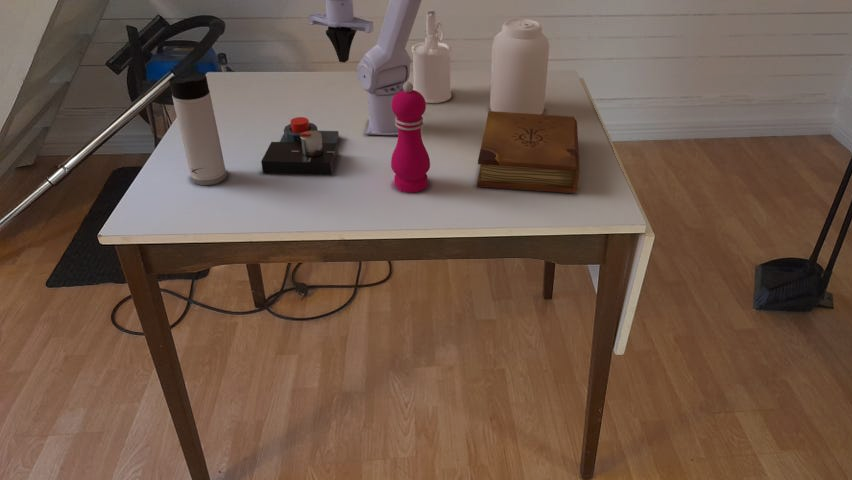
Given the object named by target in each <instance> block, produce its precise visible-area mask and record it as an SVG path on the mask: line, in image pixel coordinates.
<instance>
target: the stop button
mask: <svg viewBox="0 0 852 480" xmlns="http://www.w3.org/2000/svg"><path fill="white" fill-rule="evenodd" d="M309 123H310V121H309V118H307V117H304V116H298V117H293V118H291V119H290V124H291V130H292V132H295V133H303V132H306V131H309V130H310V128H309Z"/></svg>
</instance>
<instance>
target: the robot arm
mask: <svg viewBox="0 0 852 480" xmlns="http://www.w3.org/2000/svg"><path fill="white" fill-rule="evenodd" d="M422 1H423V0H389V2H388V5H387V9H386V13H385V16H384V20H383V21H382V26H381V29H380V33H379V35H378V40H377V42H376V44H375V45H374V46H373V47H371V48H369V50H368V51H366V52H365V53H364V54H363V58H362V59H361V60H360V62H358V64H357V68H356V77H357V80H358V83H359V85H360V87H362V88H363V90H364V91H366V92H367V93H366V94H367V106H368V108H367V109H368V124H367V127H366V130H365V134H366V135H367V136H398V128H397V127H396V125H395V122H396V121H395V117H396V115H395V114H394V113H393V111H392V99H393V97H394V96H395V95H396V94H397V93H398V92H400V91H402V90H403V85H404V84H405V83H406V82H409V78H410V74H411V63H412V57H411V56H410V54H409V52H408V51H407V50H406V47H407V44H408V42H409V38H410V36H411V33H412V29H413V26H414V24H415V21H416V18H417V16H418V12H419V9H420V7H421V3H422ZM324 2H325V4H324V5H325V12H326V13H316V12H315V13H314V12H313V13H310V14H308V16H307V17H308V18H307V19H308V24H309V25H310V26H315V25H317V26H325V27H327V29H326V30H325V35H326V36H327V37H328V39H329V41H330V42H331V44H332V46H333V48H334V51H335V53H336V56H337V60H338V62H339V63H345V64H346V63H347V62H348V61H349V59H350V51H351V47H352V44H353V41H354V38H355V35H356V33H357V31H359V32H364V33H366V34H371V33H372V32H374V21H372V20H371V21H370V20H366V19H363V18H360V17H356V16H355V14H354V2H353V0H324Z"/></svg>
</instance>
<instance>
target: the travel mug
mask: <svg viewBox="0 0 852 480" xmlns="http://www.w3.org/2000/svg"><path fill="white" fill-rule="evenodd" d="M168 83H169V87H170V91H171V97H172V102H173V107H174V110H175V114H176V119H177V123H178V127H179V132H180V136H181V141H182V144H183V150H184V153H185V158H186V162H187V165H188V170H189V175H190V178H191V181H192V182H193V183H194V184H196V185H200V186H212V185H216V184H219V183H221V182H222V181H224V180H225V179H226V177H227V171H226V165H225V161H224V156H223V155H224V154H223V151H222V150H223V149H222V146H221V140H220V136H219V131H218V125H217V120H216V115H215V111H214V106H213V101H212V96H211V92H210V91H211V90H210V87H209V83H208V78H207V75H206V74H202V73H190V74H188V75H180V74H179V75H176V76H175V75H174V76H172V77H170V78H169V79H168Z"/></svg>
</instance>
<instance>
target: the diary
mask: <svg viewBox="0 0 852 480" xmlns="http://www.w3.org/2000/svg"><path fill="white" fill-rule="evenodd" d="M578 133H579V132H578V120H577V119H576V118H575V116H571V115H570V116H569V115H556V114H526V113H510V112H495V111H492V110H488V111H487V117H486V121H485V125H484V131H483V135H482V139H481V145H480V149H479V153H478V159H477V164H478V165H480V168H479V173H478V177H477V181H476V183H477V184H476V186H477V187H481V188H494V189H495V188H496V189H506V190H507V189H508V190H522V191H523V190H524V191H535V192H537V191H538V192H550V193H551V192H552V193H564V194H565V193H566V194H574V193H575V192H576V191H577V190H578V186H579V180H580V179H579V178H580V156H579V155H580V154H579V136H578V135H579V134H578Z"/></svg>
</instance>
